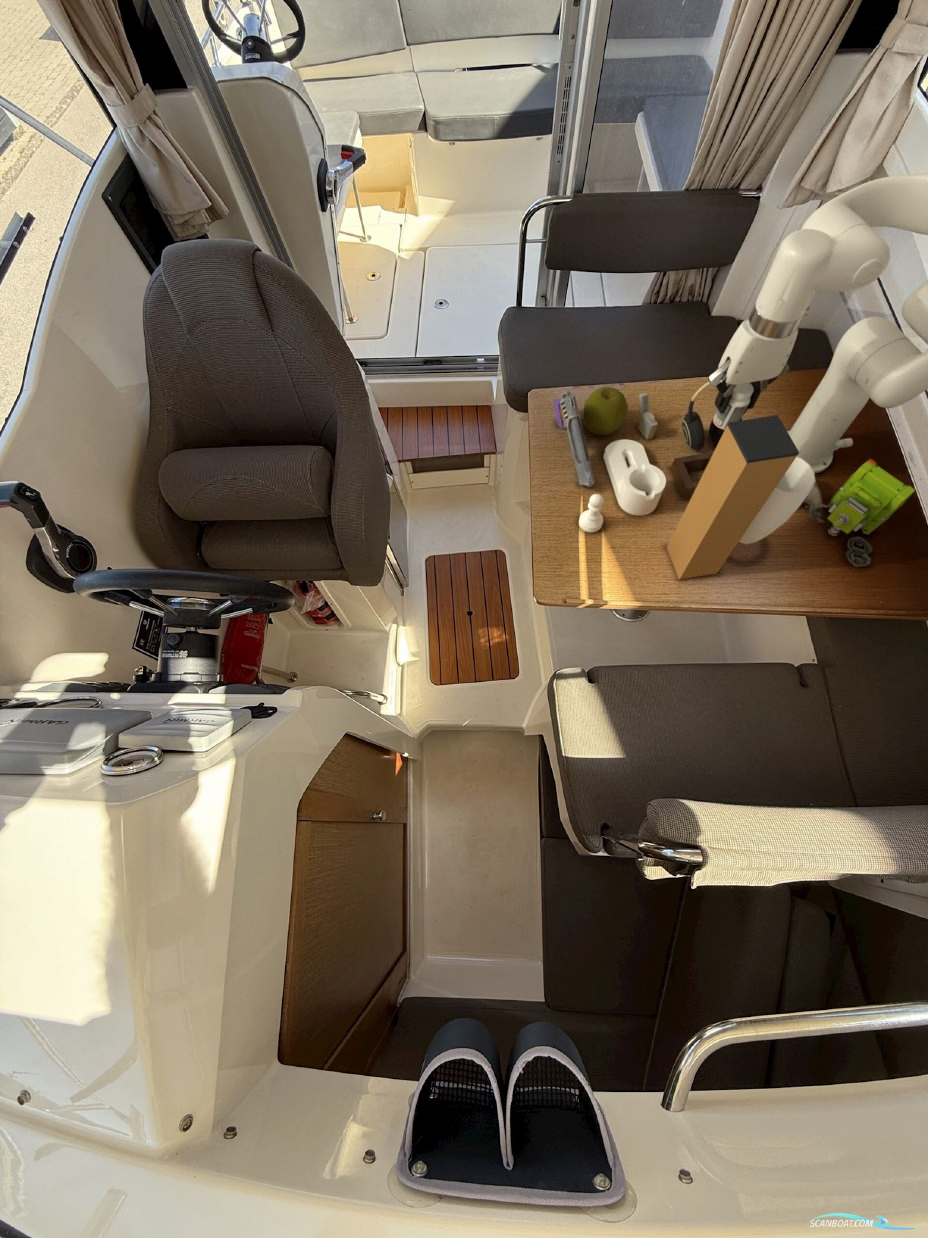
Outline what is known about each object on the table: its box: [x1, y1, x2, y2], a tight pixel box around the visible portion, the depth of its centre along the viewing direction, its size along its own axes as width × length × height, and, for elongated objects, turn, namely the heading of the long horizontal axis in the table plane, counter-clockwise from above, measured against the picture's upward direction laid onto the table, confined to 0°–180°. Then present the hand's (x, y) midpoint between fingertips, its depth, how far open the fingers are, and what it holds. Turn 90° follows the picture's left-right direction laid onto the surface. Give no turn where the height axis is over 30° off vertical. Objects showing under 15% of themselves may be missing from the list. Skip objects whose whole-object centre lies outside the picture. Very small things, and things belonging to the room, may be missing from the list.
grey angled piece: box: [638, 392, 659, 441], centre depth 132 cm, size 7×2×8 cm, turn 22°
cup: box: [738, 457, 816, 545], centre depth 110 cm, size 10×10×22 cm
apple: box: [582, 386, 629, 436], centre depth 131 cm, size 10×10×11 cm
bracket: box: [603, 439, 667, 516], centre depth 125 cm, size 20×9×7 cm, turn 8°
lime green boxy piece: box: [827, 458, 916, 537], centre depth 115 cm, size 13×16×14 cm
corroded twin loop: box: [845, 535, 874, 568], centre depth 117 cm, size 5×8×1 cm, turn 156°
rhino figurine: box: [802, 479, 830, 524], centre depth 121 cm, size 4×14×6 cm, turn 7°
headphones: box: [681, 376, 750, 451], centre depth 124 cm, size 9×15×20 cm, turn 98°
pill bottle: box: [712, 382, 754, 430], centre depth 109 cm, size 5×5×8 cm
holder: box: [669, 451, 714, 500], centre depth 126 cm, size 9×9×4 cm
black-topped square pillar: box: [666, 414, 799, 580], centre depth 103 cm, size 8×8×35 cm
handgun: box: [552, 390, 596, 488], centre depth 130 cm, size 3×22×15 cm
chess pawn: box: [578, 493, 604, 533], centre depth 119 cm, size 5×5×9 cm
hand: (733, 405), depth 109 cm, fingers closed on pill bottle, 4 cm apart
